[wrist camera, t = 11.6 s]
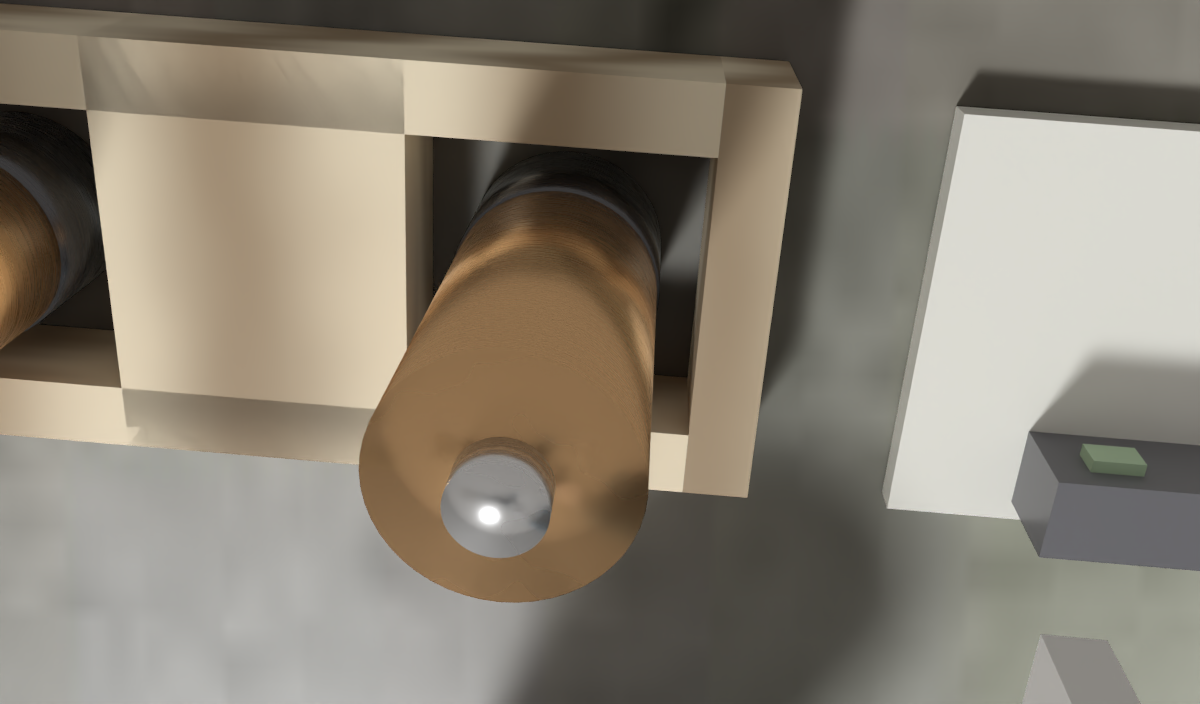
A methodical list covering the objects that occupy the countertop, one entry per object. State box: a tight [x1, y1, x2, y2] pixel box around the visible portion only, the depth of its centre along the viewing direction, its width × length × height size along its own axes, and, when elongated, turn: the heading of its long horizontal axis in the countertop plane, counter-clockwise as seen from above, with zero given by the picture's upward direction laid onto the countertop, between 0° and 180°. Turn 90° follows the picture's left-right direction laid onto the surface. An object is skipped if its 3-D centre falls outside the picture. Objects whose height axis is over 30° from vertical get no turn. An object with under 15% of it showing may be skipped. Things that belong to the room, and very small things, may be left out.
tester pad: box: [882, 106, 1200, 571], centre depth 26 cm, size 12×10×3 cm
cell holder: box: [0, 3, 802, 498], centre depth 26 cm, size 22×9×3 cm, turn 86°
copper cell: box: [359, 152, 661, 602], centre depth 22 cm, size 4×4×12 cm
